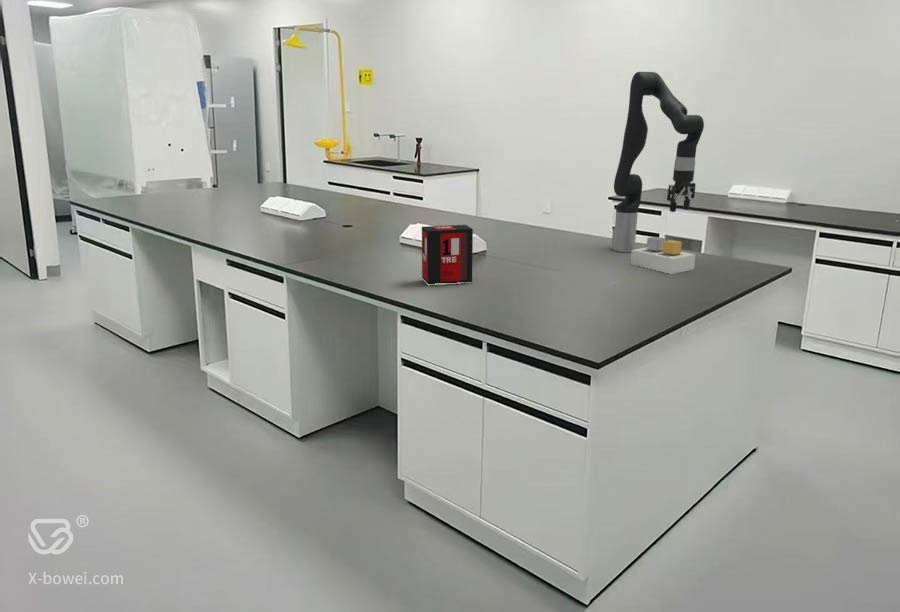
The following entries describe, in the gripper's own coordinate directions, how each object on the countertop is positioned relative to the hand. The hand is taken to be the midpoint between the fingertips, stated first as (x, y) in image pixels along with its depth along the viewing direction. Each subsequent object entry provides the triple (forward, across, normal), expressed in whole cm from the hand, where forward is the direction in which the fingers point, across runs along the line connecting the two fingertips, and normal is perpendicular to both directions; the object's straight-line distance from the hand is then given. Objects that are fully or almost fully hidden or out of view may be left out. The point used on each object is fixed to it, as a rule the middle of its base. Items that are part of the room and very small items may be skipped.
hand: (679, 210), depth 267 cm
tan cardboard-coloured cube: (+16, +5, +2) cm, 17 cm away
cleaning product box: (+23, +88, -34) cm, 97 cm away
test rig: (+22, +5, -2) cm, 23 cm away
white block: (+16, +5, -6) cm, 18 cm away
